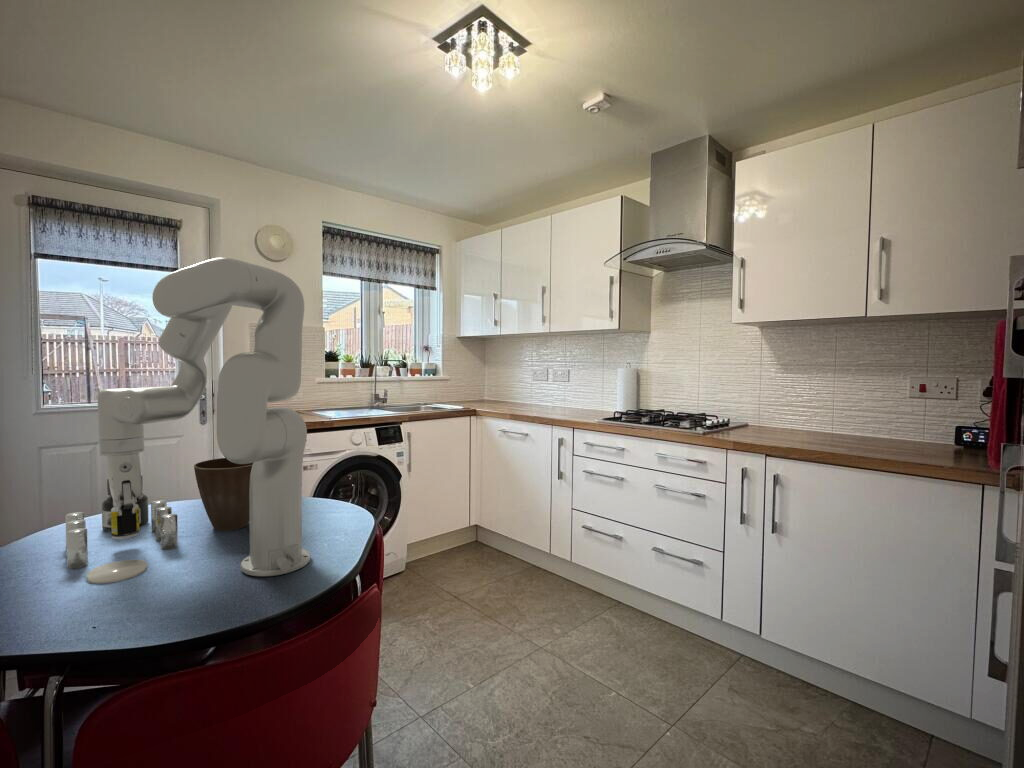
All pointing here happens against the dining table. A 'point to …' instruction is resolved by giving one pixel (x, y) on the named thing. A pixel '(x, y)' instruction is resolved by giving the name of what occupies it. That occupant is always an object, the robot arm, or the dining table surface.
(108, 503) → the ink bottle
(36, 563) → the dining table surface
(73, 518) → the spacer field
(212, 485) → the plant pot
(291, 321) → the robot arm
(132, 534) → the supplement bottle
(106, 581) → the coaster
